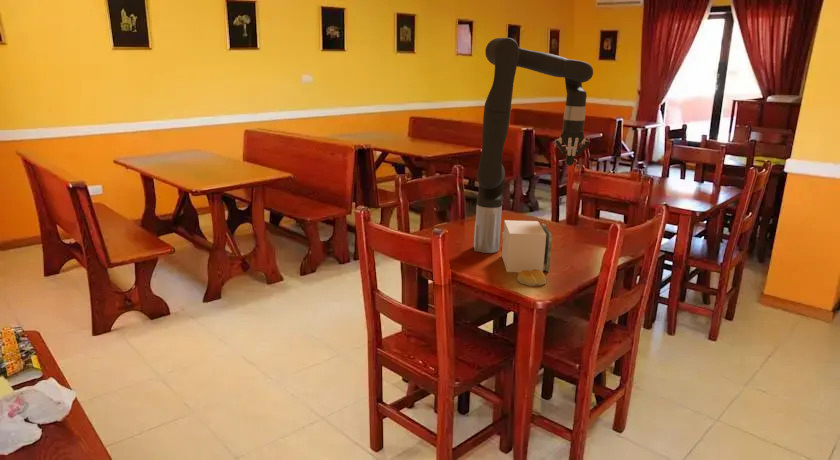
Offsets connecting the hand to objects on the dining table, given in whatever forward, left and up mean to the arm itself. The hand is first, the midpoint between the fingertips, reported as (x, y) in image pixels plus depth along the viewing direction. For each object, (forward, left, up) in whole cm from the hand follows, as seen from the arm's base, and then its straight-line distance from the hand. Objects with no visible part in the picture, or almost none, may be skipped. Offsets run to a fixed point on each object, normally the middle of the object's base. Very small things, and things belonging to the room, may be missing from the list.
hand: (569, 165), depth 215 cm
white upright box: (-19, -25, -31) cm, 44 cm away
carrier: (-17, -25, -31) cm, 43 cm away
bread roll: (-18, -41, -32) cm, 55 cm away
